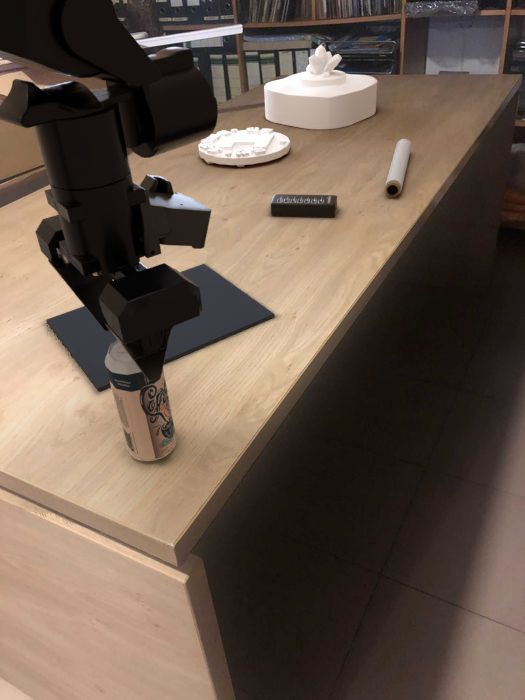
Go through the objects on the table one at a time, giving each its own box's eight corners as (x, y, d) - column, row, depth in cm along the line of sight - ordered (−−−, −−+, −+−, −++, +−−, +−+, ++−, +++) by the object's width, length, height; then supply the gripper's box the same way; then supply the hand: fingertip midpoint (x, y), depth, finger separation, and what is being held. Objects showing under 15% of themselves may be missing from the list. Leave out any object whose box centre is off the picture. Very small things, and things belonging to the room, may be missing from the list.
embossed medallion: (258, 174, 119) (257, 159, 118) (181, 161, 128) (179, 148, 126) (305, 145, 133) (305, 132, 131) (232, 136, 142) (231, 123, 140)
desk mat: (98, 391, 66) (97, 388, 66) (46, 322, 78) (45, 319, 78) (274, 317, 76) (274, 313, 76) (204, 266, 89) (204, 263, 88)
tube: (400, 199, 105) (410, 153, 124) (401, 182, 103) (412, 138, 123) (383, 198, 106) (396, 153, 125) (384, 181, 104) (397, 138, 123)
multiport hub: (275, 206, 106) (274, 193, 104) (337, 207, 104) (337, 194, 102) (270, 216, 102) (270, 203, 101) (334, 218, 100) (335, 204, 99)
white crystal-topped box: (388, 109, 154) (393, 39, 144) (330, 133, 139) (331, 58, 130) (312, 97, 168) (311, 33, 158) (252, 118, 153) (247, 49, 144)
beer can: (173, 464, 56) (153, 363, 49) (123, 465, 57) (96, 365, 50) (180, 429, 60) (162, 331, 53) (133, 430, 60) (109, 333, 53)
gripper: (257, 182, 40) (268, 367, 49) (137, 126, 52) (164, 281, 61) (99, 230, 35) (145, 425, 44) (10, 155, 47) (60, 319, 57)
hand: (131, 352), depth 52 cm, fingers open, 9 cm apart
